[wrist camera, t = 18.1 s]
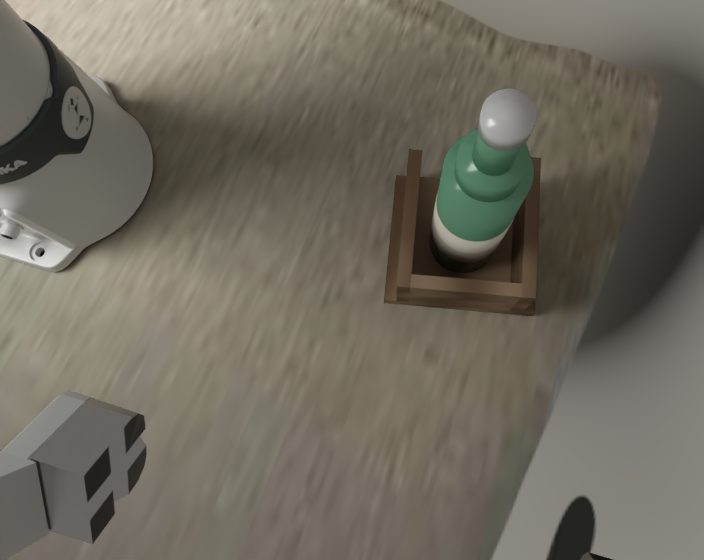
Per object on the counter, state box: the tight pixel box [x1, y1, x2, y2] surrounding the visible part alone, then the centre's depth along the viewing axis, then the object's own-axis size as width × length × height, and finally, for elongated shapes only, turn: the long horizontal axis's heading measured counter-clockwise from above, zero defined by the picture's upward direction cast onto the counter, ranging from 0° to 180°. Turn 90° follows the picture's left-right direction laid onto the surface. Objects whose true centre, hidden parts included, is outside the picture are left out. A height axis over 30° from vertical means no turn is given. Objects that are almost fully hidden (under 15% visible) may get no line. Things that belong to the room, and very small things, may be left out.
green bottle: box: [429, 89, 537, 273], centre depth 40 cm, size 6×6×21 cm
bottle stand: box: [384, 149, 541, 316], centre depth 48 cm, size 12×11×6 cm
